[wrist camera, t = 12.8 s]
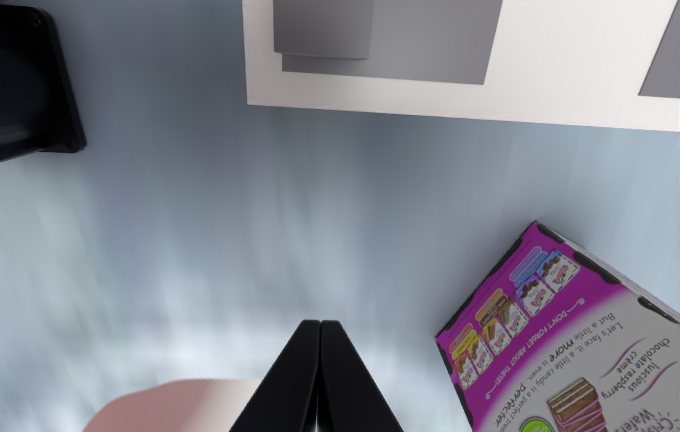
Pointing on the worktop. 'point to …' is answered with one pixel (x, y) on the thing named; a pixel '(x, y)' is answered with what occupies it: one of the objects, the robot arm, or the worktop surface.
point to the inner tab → (323, 28)
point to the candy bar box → (563, 346)
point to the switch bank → (488, 62)
